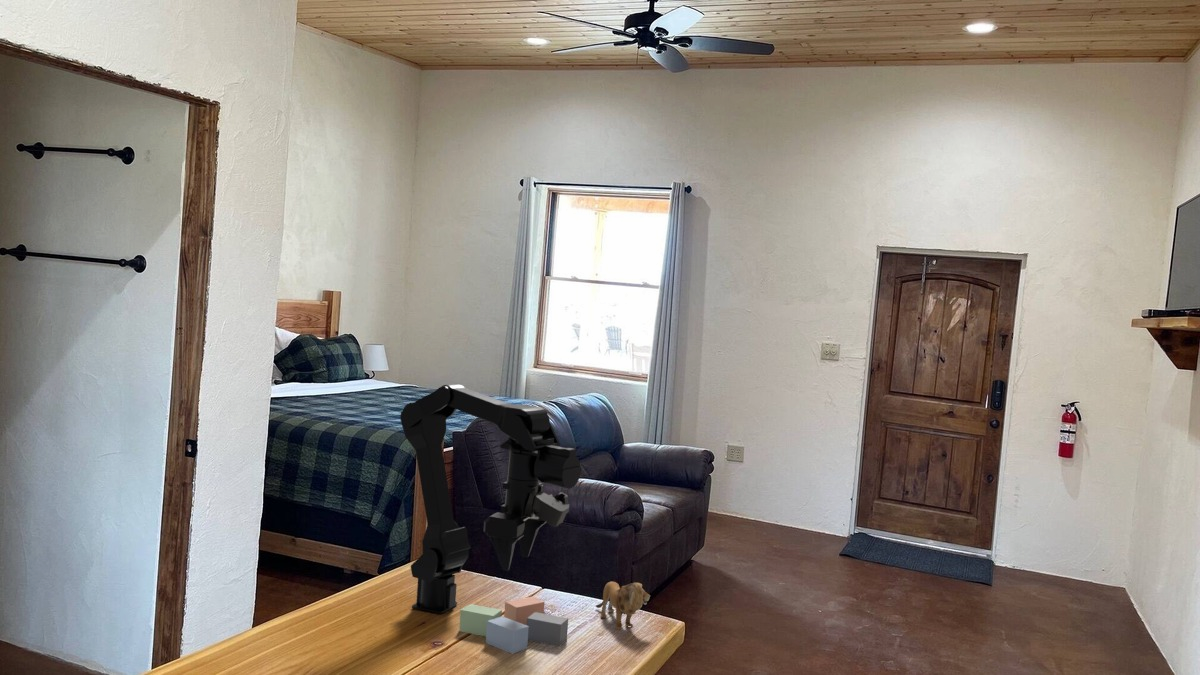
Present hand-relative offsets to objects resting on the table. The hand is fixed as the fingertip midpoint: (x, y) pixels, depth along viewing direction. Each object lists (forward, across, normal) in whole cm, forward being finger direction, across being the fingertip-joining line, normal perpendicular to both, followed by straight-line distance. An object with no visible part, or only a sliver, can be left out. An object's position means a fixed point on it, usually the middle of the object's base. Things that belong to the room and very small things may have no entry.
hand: (515, 563), depth 166 cm
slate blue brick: (+12, -7, -2) cm, 14 cm away
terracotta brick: (+13, +5, 0) cm, 14 cm away
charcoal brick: (+12, -1, -7) cm, 14 cm away
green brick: (+13, -2, +5) cm, 14 cm away
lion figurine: (+12, +14, -17) cm, 25 cm away
